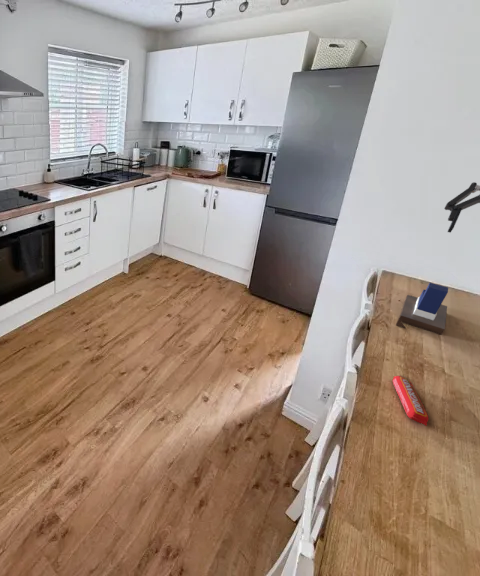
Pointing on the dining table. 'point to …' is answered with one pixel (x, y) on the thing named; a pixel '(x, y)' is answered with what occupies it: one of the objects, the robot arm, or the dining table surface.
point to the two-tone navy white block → (430, 301)
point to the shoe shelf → (421, 322)
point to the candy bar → (410, 400)
